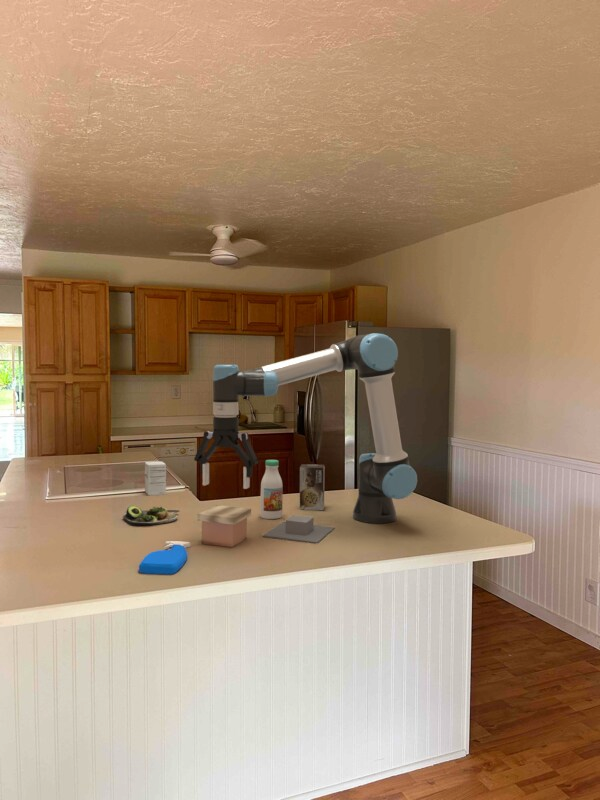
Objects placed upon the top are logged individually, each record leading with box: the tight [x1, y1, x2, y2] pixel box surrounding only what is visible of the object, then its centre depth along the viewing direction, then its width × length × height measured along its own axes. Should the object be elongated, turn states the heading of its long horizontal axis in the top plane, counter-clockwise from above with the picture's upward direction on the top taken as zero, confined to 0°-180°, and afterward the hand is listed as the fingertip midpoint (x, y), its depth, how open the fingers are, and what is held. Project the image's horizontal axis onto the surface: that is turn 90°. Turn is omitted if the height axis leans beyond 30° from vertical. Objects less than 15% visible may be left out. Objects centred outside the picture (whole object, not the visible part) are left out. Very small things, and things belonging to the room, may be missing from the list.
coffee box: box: [299, 463, 326, 511], centre depth 225 cm, size 9×6×16 cm
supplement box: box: [144, 460, 167, 496], centre depth 246 cm, size 7×7×13 cm
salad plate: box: [122, 505, 180, 527], centre depth 206 cm, size 19×18×5 cm
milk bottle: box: [259, 459, 284, 520], centre depth 211 cm, size 8×8×20 cm
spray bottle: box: [138, 540, 191, 575], centre depth 164 cm, size 3×11×24 cm
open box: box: [201, 517, 248, 548], centre depth 182 cm, size 10×10×7 cm
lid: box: [197, 504, 252, 525], centre depth 182 cm, size 12×12×2 cm
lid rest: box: [261, 514, 336, 544], centre depth 192 cm, size 18×18×4 cm
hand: (225, 486), depth 181 cm, fingers open, 13 cm apart
